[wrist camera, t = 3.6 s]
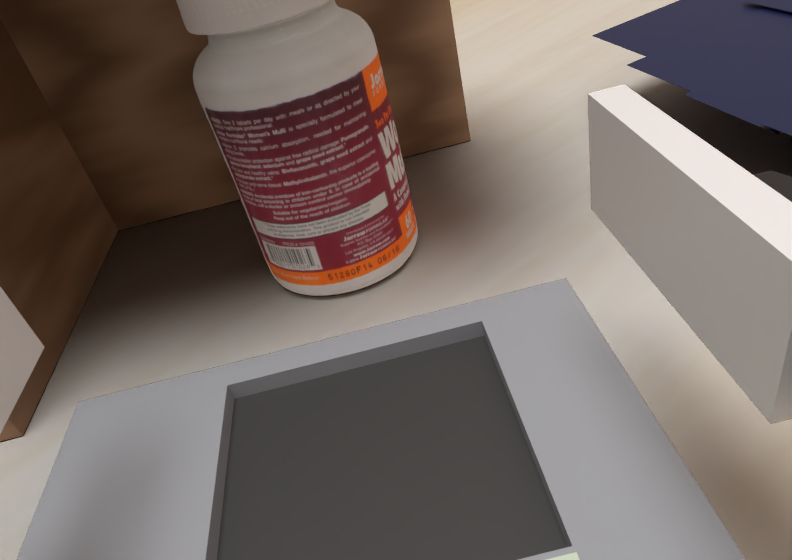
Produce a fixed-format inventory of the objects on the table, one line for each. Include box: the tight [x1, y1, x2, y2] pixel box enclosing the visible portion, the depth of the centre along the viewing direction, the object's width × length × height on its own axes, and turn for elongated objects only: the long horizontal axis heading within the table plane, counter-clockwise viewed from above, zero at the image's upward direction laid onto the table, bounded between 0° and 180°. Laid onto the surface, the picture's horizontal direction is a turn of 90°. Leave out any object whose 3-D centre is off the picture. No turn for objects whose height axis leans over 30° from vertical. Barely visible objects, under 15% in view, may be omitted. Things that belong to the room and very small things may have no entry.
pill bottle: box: [176, 0, 418, 296], centre depth 22 cm, size 6×6×11 cm
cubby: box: [0, 0, 470, 441], centre depth 21 cm, size 19×14×16 cm
